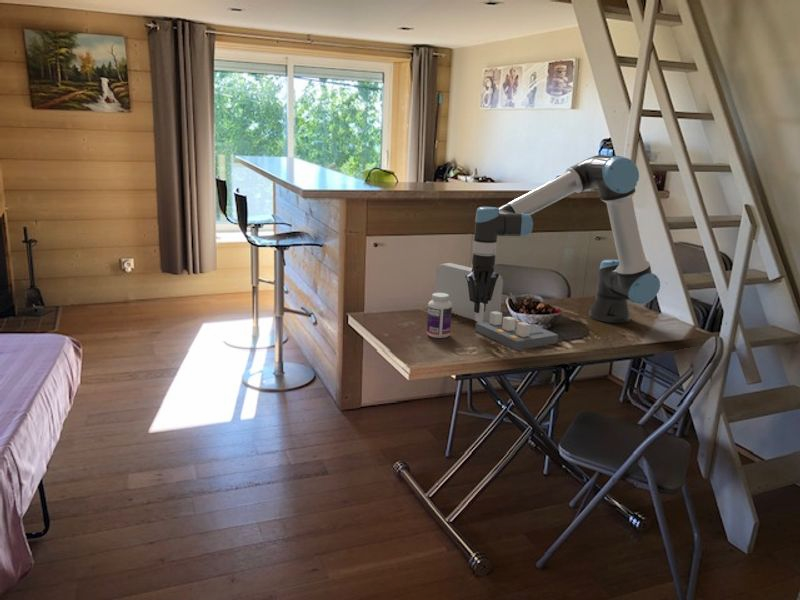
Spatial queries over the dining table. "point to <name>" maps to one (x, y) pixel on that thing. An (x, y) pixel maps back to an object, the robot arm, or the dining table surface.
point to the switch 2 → (523, 329)
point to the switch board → (515, 341)
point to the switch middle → (508, 323)
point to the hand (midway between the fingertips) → (478, 321)
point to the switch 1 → (495, 318)
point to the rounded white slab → (464, 290)
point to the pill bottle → (439, 316)
